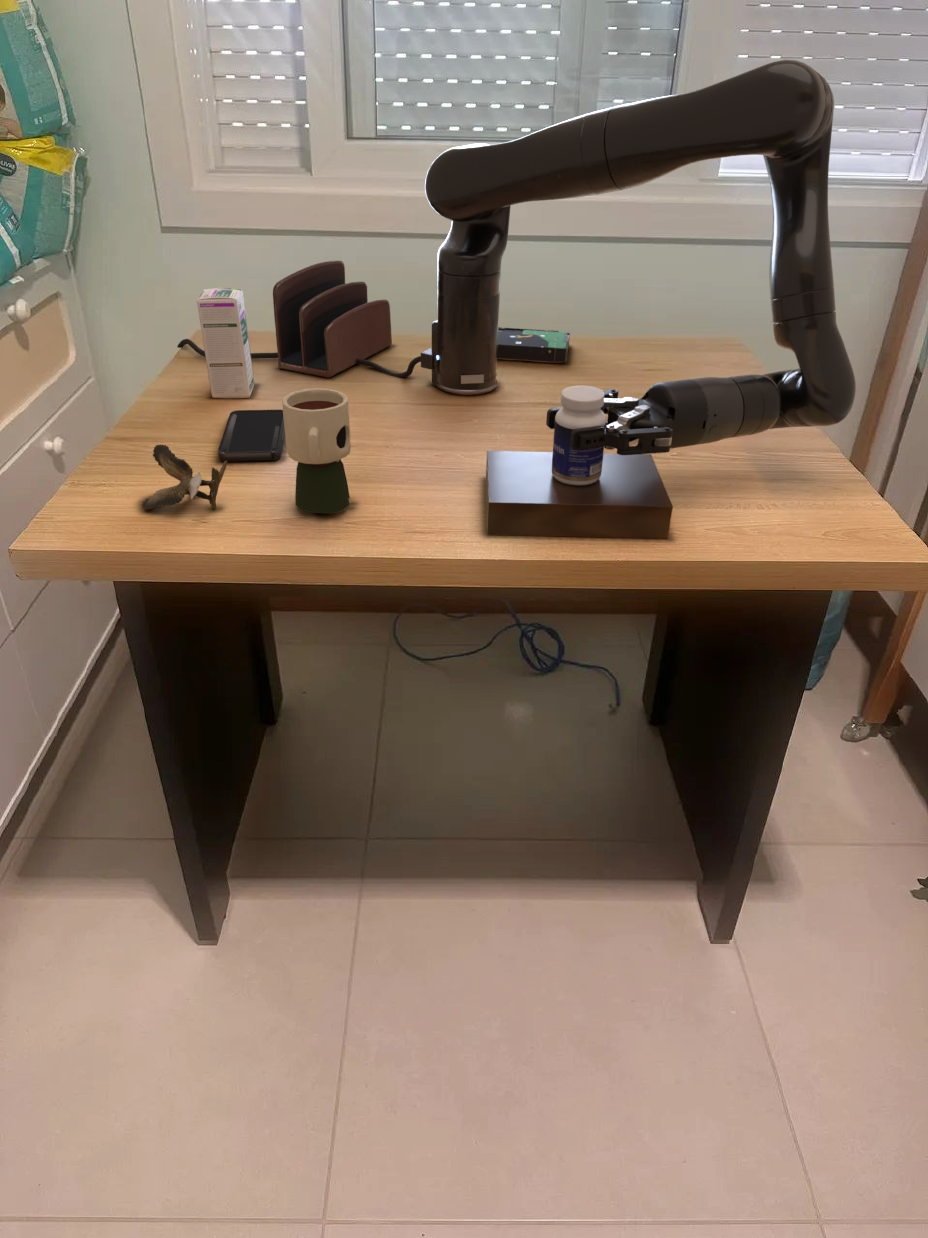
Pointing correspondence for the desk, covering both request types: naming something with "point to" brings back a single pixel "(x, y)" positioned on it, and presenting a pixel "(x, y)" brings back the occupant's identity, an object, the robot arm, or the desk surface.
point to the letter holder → (327, 321)
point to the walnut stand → (575, 498)
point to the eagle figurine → (182, 481)
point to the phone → (253, 436)
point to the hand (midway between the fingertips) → (560, 429)
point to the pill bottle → (576, 413)
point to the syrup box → (226, 342)
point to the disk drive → (532, 345)
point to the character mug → (318, 447)
